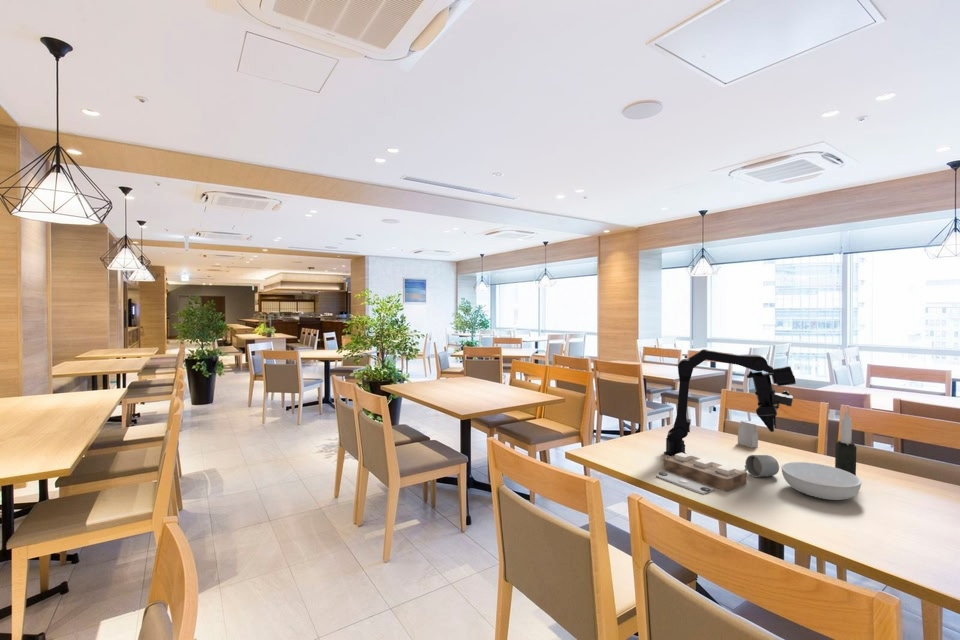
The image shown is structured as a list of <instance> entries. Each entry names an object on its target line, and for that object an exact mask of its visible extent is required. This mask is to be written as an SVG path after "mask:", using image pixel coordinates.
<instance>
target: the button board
mask: <svg viewBox="0 0 960 640" xmlns="http://www.w3.org/2000/svg"><path fill="white" fill-rule="evenodd" d="M698 459H702V458H700V457H697V456H694V455H691V460H690V461H687V462H683V461H680V460H677V459H675V456H671V455H670V456H668V457H665V458H663V470H664V469H665V470H664V471H667V470H668V471H667V472H670V471H671V472H670V473H672V474H675V475H678V476H681V475H682V476H681V477H683V478H684V477H685V478H686V479H689V480H690V479H691V480H693V481H695V482H696V481H697V482H699V483H700V484H703V485H706V486H709V487H712V488H713V487H714V488H715V489H719V490H722V491H725V492H730V491H732V490H735V489H738V488H740V487H742V486H745V485H746V484H747V474H748V473H747V472H748V471H747V472H746V471H743V470H739V469H737V468H734V469H735V473H734V474H733V475H730V476H727V475H724V474H721V473H718V472H717V467H719V466H722V465H723V464H720V463H717V462H714V461H711V462H712V467H710V468H707V469H705V468H702V467H699V466H696V465H695V460H698Z"/></svg>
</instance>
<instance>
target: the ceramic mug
mask: <svg viewBox="0 0 960 640" xmlns="http://www.w3.org/2000/svg"><path fill="white" fill-rule="evenodd" d="M744 468H745V470H746V471H747V472H748V473H749V475H751V476H752V477H754V478H763V477H764V478H765V477H773V476H776V475H777V474H778V473H779V470H780V465H779V461H778V460H777V459H776V458H775V457H773V456H772V455H769V454H750V455H748V456H747V457H746V459H745V465H744Z"/></svg>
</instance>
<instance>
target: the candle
mask: <svg viewBox="0 0 960 640" xmlns="http://www.w3.org/2000/svg"><path fill="white" fill-rule="evenodd" d="M852 432H853V420H852V418H851V417H850V414H849V410H848V409H845V412H844V415H843V416H842V417H841V419H840V440H837V441H836V442H835V453H834V454H835V459H834V461H835V462H834V467H835V468H838V469H841V470H844V471H847V472H849V473H852V474H854V475H855V476H857V446H856V445H855V443H854V442H852V439H853V438H852V437H853V436H852V435H853V434H852Z"/></svg>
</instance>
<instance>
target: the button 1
mask: <svg viewBox="0 0 960 640" xmlns="http://www.w3.org/2000/svg"><path fill="white" fill-rule="evenodd" d="M685 453H686V452H685ZM685 453H678V454H675V459H677V460H680V461H683V462H687V461H690V460H691V456H692V455H691V454H687V453H686V454H685Z"/></svg>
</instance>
